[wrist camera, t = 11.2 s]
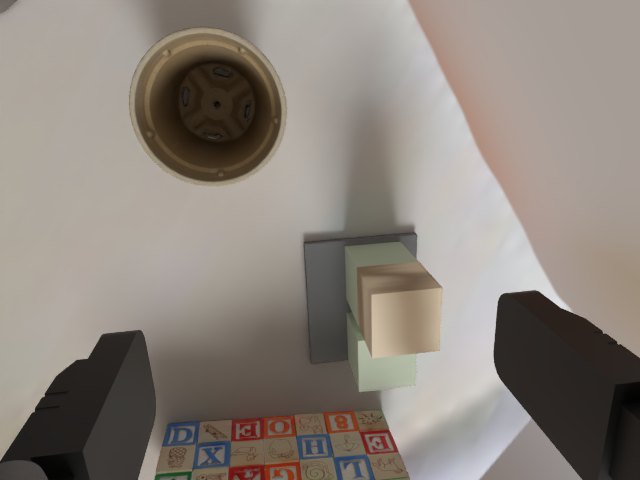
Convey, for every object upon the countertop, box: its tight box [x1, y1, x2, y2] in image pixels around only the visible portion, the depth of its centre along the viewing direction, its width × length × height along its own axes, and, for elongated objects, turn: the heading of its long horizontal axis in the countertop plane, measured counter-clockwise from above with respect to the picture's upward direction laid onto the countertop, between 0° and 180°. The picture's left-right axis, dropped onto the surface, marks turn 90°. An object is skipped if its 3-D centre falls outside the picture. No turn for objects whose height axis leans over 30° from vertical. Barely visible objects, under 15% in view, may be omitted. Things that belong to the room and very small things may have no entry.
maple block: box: [357, 262, 442, 358], centre depth 36 cm, size 5×5×5 cm
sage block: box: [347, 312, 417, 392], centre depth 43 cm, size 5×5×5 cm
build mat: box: [304, 233, 417, 364], centre depth 44 cm, size 10×12×1 cm
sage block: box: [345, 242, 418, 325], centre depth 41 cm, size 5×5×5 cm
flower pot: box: [129, 27, 287, 186], centre depth 33 cm, size 9×9×9 cm
